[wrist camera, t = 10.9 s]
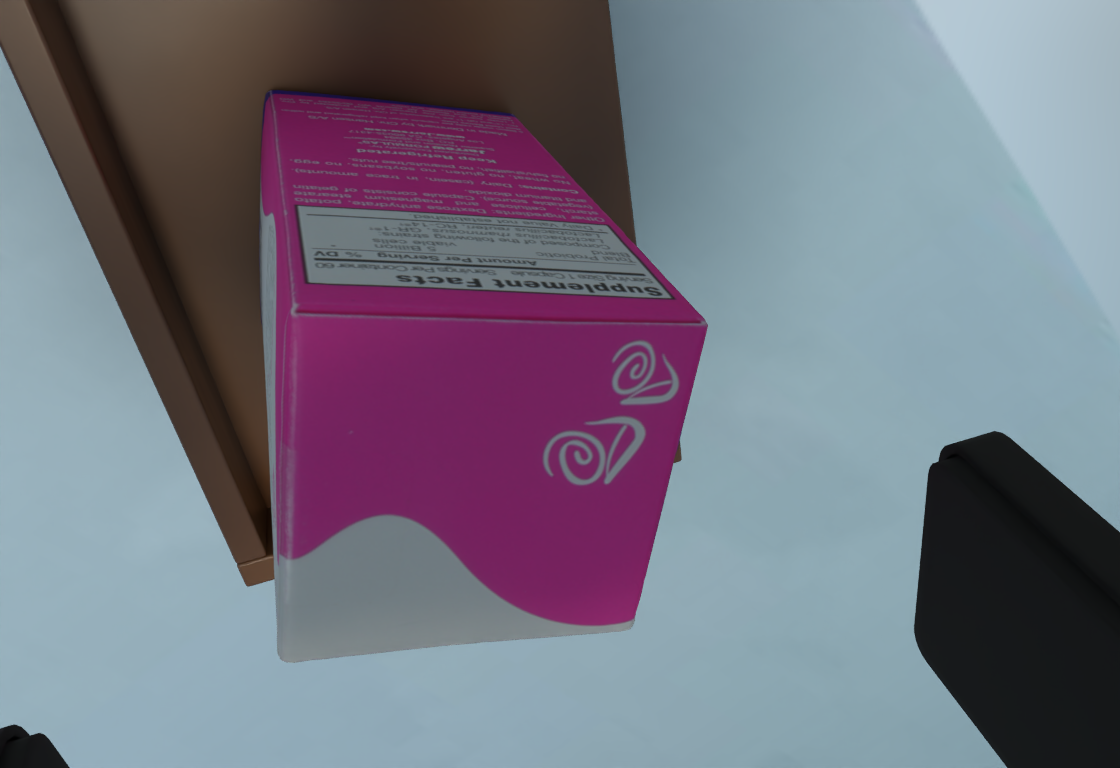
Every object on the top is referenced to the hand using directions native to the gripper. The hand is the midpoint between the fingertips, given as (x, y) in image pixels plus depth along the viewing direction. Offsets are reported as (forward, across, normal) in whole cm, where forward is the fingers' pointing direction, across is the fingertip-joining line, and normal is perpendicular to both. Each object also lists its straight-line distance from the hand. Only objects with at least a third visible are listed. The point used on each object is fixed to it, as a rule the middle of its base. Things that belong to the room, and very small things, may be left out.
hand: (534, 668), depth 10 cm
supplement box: (+15, 0, +1) cm, 15 cm away
